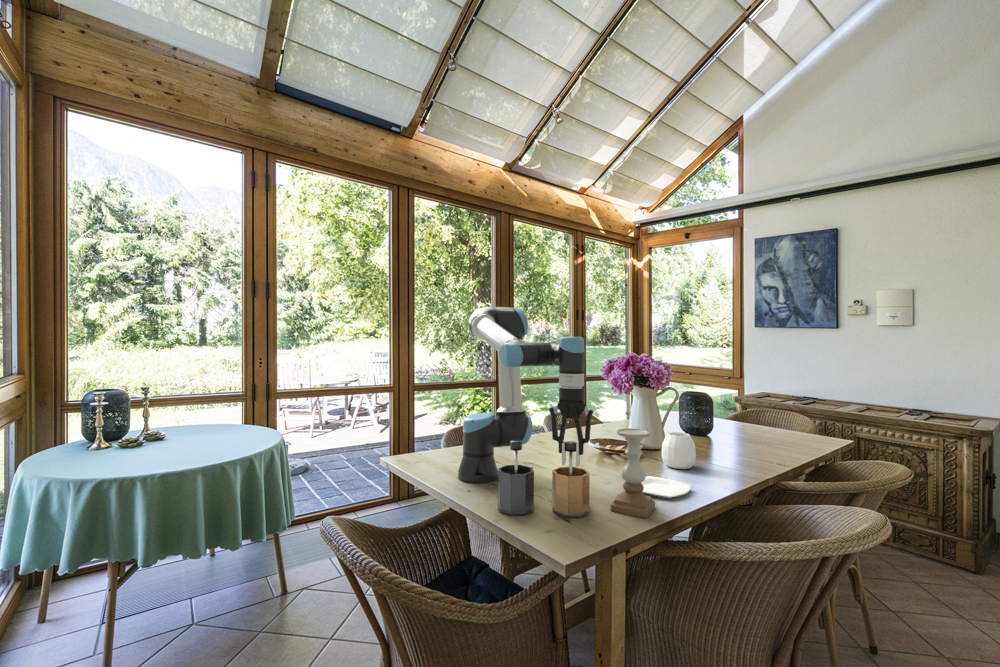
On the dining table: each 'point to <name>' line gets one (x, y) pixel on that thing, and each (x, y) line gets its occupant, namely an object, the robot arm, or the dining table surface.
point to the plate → (664, 487)
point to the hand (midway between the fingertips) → (570, 464)
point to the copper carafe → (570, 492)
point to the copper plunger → (570, 453)
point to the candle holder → (633, 478)
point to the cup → (678, 450)
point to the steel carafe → (515, 490)
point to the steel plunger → (516, 451)
